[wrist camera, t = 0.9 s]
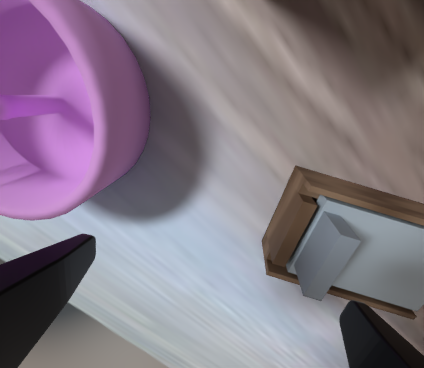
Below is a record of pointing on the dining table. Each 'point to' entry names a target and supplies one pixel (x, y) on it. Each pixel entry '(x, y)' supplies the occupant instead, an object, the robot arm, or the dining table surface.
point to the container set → (65, 107)
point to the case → (302, 212)
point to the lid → (360, 254)
